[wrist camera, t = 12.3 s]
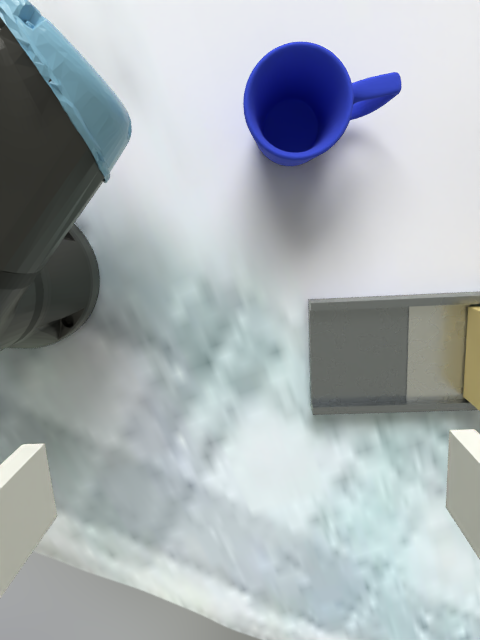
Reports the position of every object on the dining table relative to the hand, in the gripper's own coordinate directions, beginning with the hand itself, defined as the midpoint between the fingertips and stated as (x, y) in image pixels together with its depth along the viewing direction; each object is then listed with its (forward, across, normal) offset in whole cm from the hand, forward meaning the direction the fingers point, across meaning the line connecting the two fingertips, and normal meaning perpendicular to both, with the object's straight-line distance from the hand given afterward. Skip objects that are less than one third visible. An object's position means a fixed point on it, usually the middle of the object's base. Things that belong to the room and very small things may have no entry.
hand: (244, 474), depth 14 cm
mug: (+33, +6, +17) cm, 37 cm away
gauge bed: (+32, +19, -6) cm, 38 cm away
